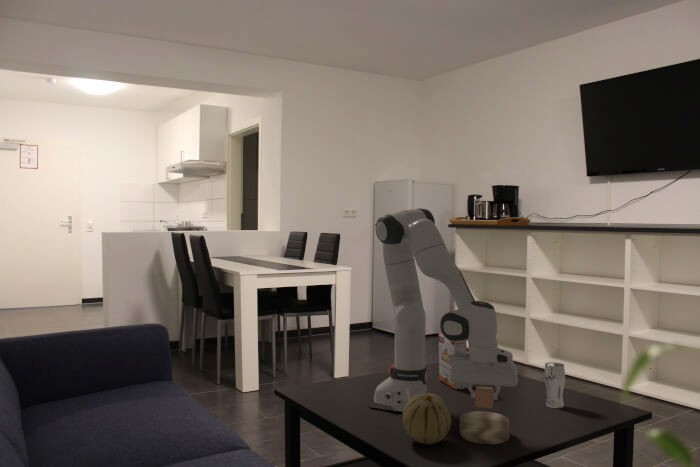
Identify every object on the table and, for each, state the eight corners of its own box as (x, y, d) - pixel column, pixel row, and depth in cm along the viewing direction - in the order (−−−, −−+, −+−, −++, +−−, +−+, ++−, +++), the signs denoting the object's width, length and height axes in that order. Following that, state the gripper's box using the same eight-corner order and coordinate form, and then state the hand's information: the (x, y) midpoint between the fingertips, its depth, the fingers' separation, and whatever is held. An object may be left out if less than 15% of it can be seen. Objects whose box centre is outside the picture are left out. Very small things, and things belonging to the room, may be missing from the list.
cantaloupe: (432, 430, 178) (431, 383, 178) (462, 445, 165) (461, 395, 165) (393, 439, 171) (392, 390, 171) (421, 455, 158) (420, 402, 158)
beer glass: (552, 409, 197) (552, 367, 197) (540, 403, 204) (540, 363, 204) (569, 407, 199) (569, 365, 199) (557, 402, 206) (556, 361, 206)
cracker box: (438, 381, 236) (437, 332, 236) (451, 380, 237) (450, 331, 237) (454, 390, 222) (453, 338, 222) (467, 389, 224) (467, 337, 224)
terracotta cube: (475, 407, 171) (474, 390, 171) (477, 402, 176) (476, 386, 176) (492, 408, 170) (491, 392, 170) (493, 403, 175) (492, 387, 175)
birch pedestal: (456, 441, 168) (456, 424, 168) (462, 424, 183) (462, 409, 183) (508, 446, 164) (508, 429, 164) (510, 429, 178) (510, 413, 178)
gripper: (448, 354, 173) (449, 399, 173) (516, 357, 167) (517, 403, 167) (450, 350, 179) (452, 393, 179) (517, 353, 173) (518, 397, 173)
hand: (484, 398), depth 173 cm, fingers closed on terracotta cube, 5 cm apart
